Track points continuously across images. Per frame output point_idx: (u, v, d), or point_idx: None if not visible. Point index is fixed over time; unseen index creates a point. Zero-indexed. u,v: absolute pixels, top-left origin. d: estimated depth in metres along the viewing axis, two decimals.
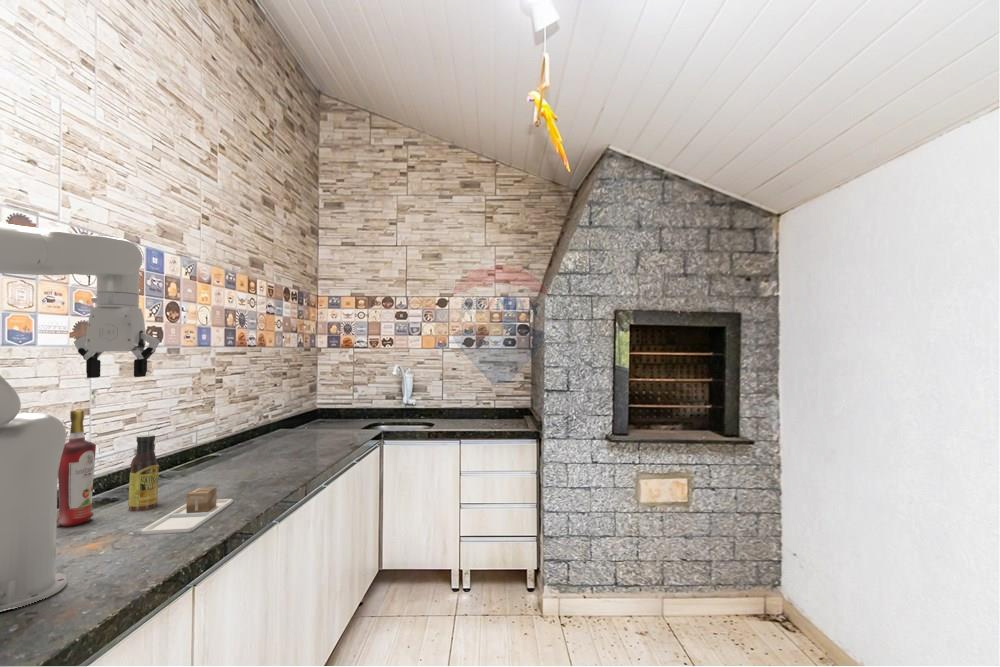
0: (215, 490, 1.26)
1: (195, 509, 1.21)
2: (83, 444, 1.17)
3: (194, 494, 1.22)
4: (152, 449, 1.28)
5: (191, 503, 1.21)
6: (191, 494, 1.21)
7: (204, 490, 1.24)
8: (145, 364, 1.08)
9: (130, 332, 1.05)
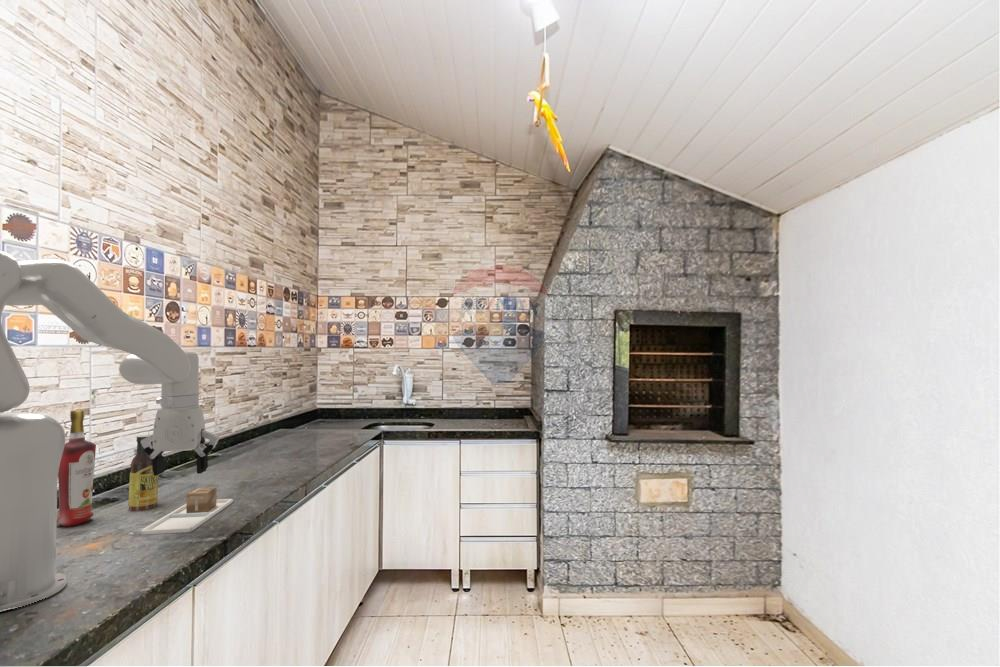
0: (215, 490, 1.26)
1: (195, 509, 1.21)
2: (83, 444, 1.17)
3: (194, 494, 1.22)
4: None
5: (191, 503, 1.21)
6: (191, 494, 1.21)
7: (204, 490, 1.24)
8: (206, 460, 1.15)
9: (193, 432, 1.12)
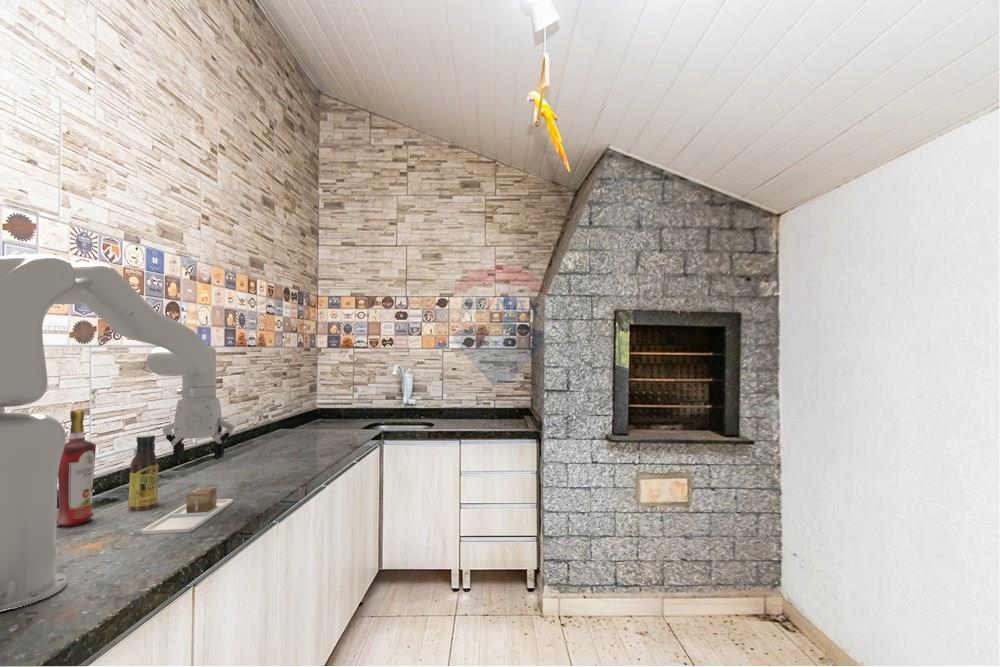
0: (215, 490, 1.26)
1: (195, 509, 1.21)
2: (83, 444, 1.17)
3: (194, 494, 1.22)
4: (152, 449, 1.28)
5: (191, 503, 1.21)
6: (191, 494, 1.21)
7: (204, 490, 1.24)
8: (223, 447, 1.24)
9: (211, 421, 1.21)
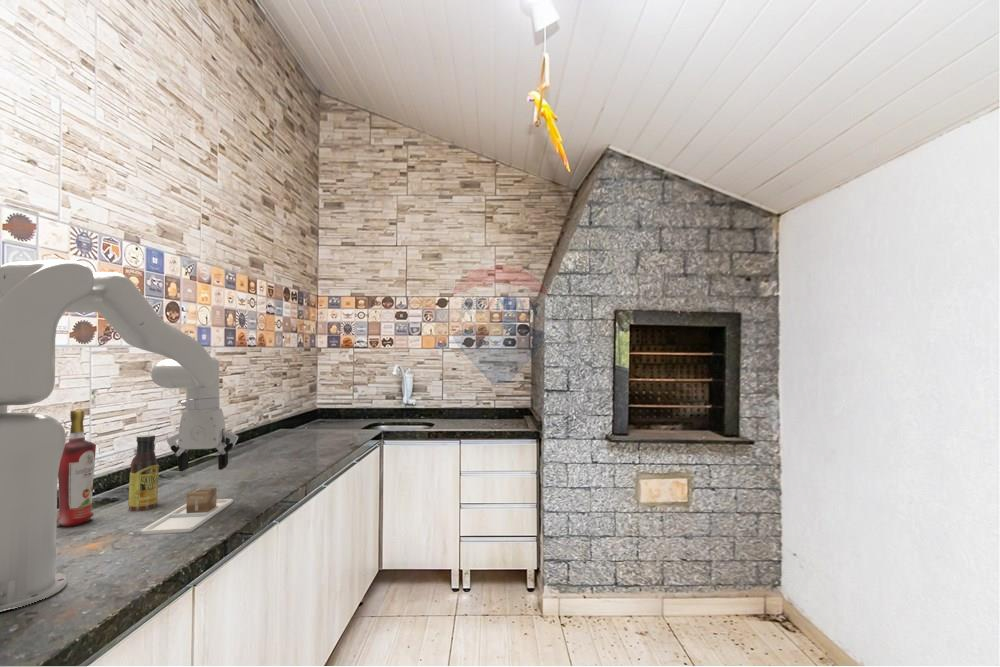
0: (215, 490, 1.26)
1: (195, 509, 1.21)
2: (83, 444, 1.17)
3: (194, 494, 1.22)
4: (152, 449, 1.28)
5: (191, 503, 1.21)
6: (191, 494, 1.21)
7: (204, 490, 1.24)
8: (226, 457, 1.26)
9: (215, 432, 1.23)
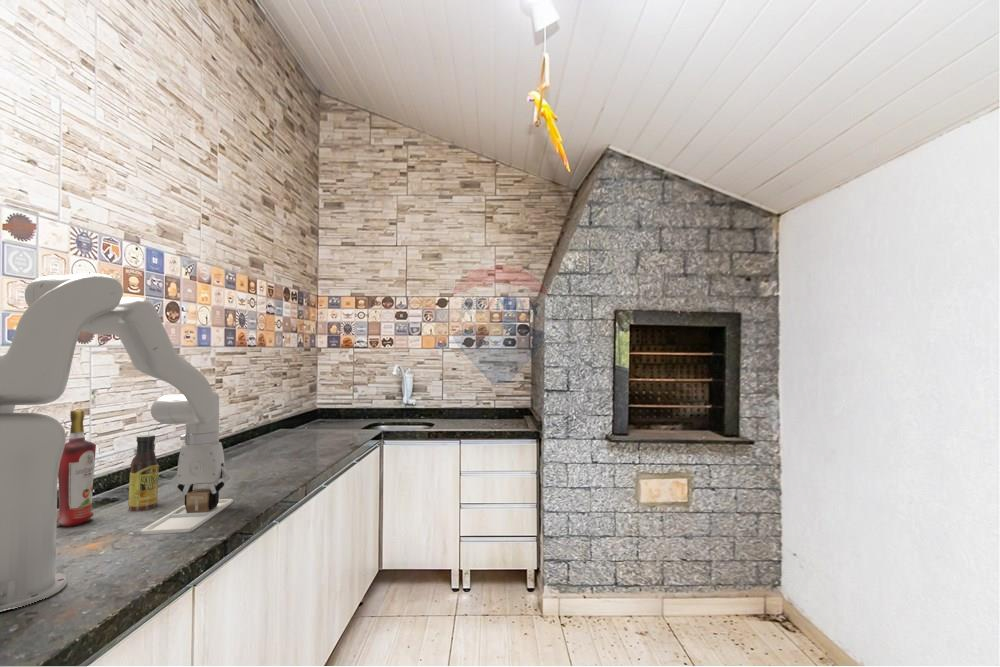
0: None
1: (195, 509, 1.21)
2: (83, 444, 1.17)
3: (194, 494, 1.22)
4: (152, 449, 1.28)
5: (191, 503, 1.21)
6: (191, 494, 1.21)
7: (204, 490, 1.24)
8: (217, 496, 1.25)
9: (214, 467, 1.22)
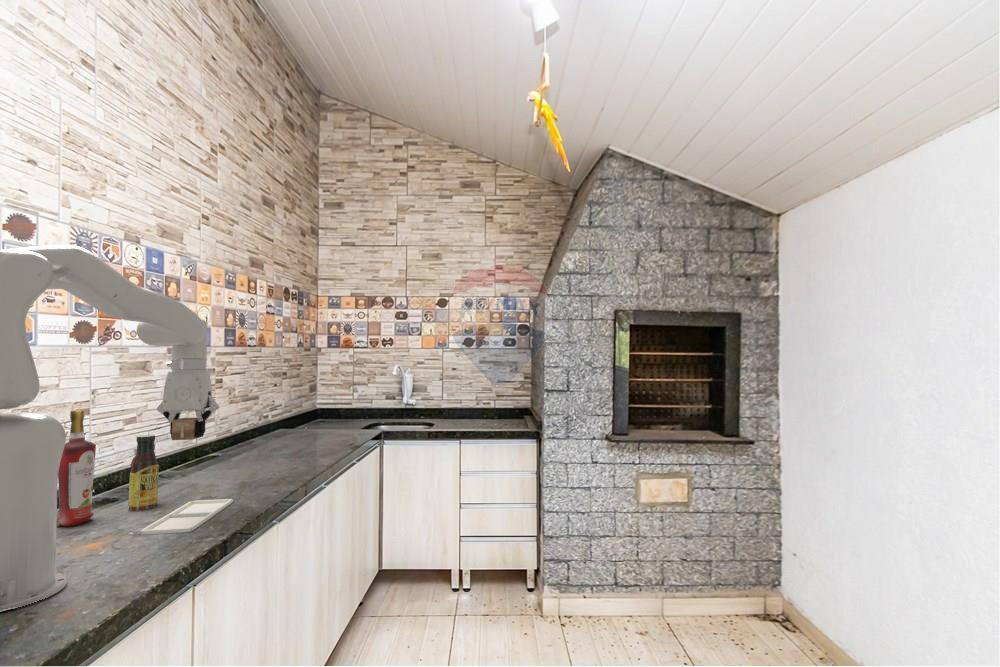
0: None
1: (181, 436, 1.18)
2: (83, 444, 1.17)
3: (180, 421, 1.19)
4: (152, 449, 1.28)
5: (176, 430, 1.19)
6: (177, 421, 1.19)
7: (190, 418, 1.21)
8: (204, 425, 1.22)
9: (201, 394, 1.20)
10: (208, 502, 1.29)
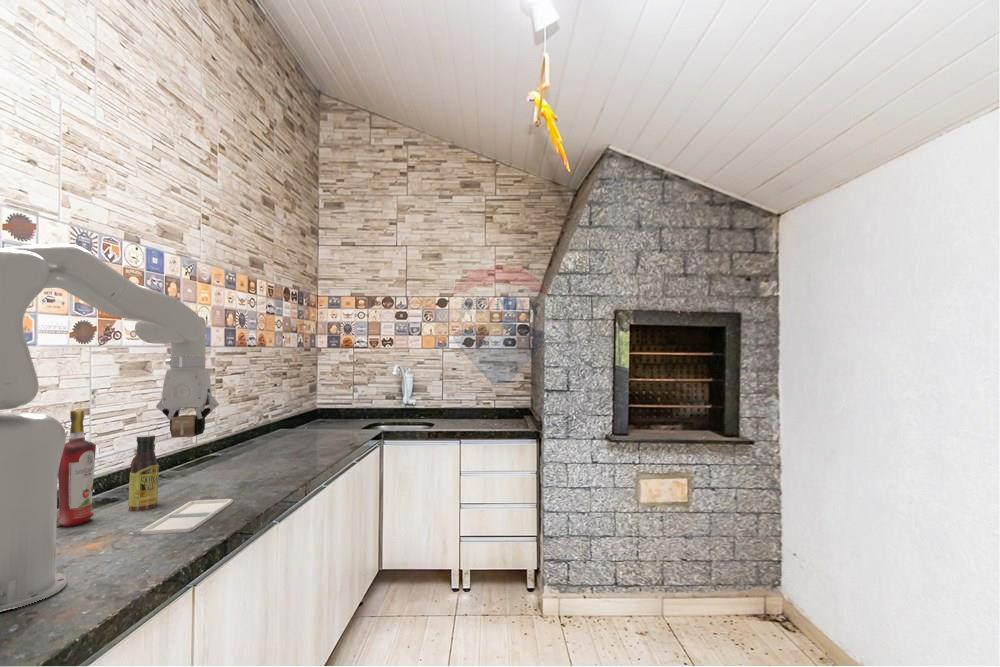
0: None
1: (180, 434, 1.18)
2: (83, 444, 1.17)
3: (179, 418, 1.19)
4: (152, 449, 1.28)
5: (176, 427, 1.19)
6: (176, 418, 1.19)
7: (190, 415, 1.21)
8: (203, 422, 1.22)
9: (200, 391, 1.19)
10: (208, 502, 1.29)
